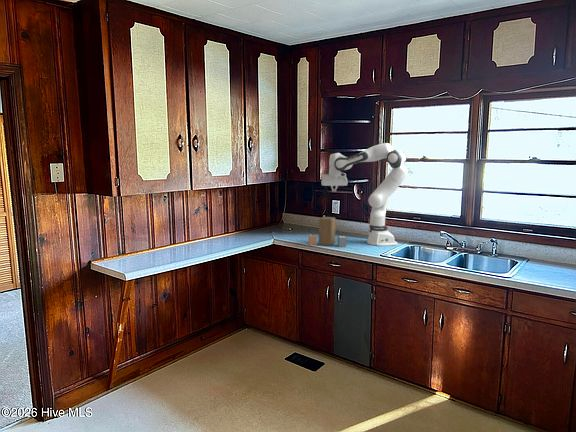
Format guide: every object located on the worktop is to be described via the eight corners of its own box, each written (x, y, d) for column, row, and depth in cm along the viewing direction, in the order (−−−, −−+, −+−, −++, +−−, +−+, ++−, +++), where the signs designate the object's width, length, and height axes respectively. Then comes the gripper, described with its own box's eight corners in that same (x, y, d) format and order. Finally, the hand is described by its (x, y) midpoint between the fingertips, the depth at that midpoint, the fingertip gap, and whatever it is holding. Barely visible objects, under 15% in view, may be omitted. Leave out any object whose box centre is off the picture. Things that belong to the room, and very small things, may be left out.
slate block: (344, 245, 311) (345, 235, 310) (346, 247, 306) (346, 237, 305) (337, 245, 311) (338, 235, 309) (339, 247, 306) (339, 237, 304)
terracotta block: (315, 243, 316) (315, 233, 314) (316, 245, 311) (316, 235, 309) (308, 243, 315) (308, 233, 314) (309, 245, 310) (309, 235, 309)
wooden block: (318, 244, 312) (318, 218, 309) (322, 242, 321) (323, 216, 318) (331, 246, 308) (331, 219, 305) (335, 243, 317) (336, 217, 314)
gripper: (321, 173, 325) (321, 191, 327) (348, 174, 326) (347, 191, 328) (320, 173, 331) (320, 191, 333) (346, 173, 332) (346, 191, 334)
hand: (334, 191), depth 331 cm, fingers closed
